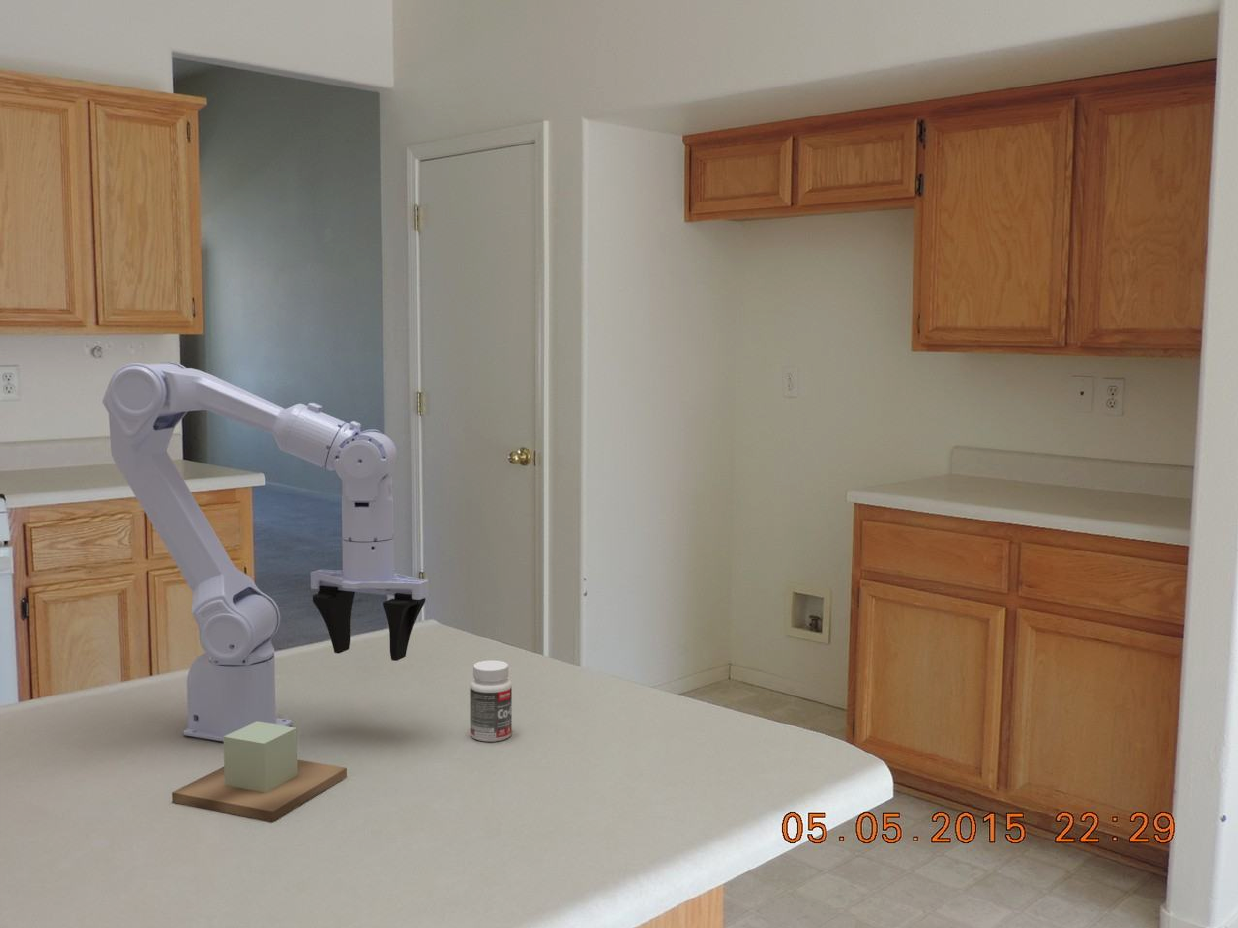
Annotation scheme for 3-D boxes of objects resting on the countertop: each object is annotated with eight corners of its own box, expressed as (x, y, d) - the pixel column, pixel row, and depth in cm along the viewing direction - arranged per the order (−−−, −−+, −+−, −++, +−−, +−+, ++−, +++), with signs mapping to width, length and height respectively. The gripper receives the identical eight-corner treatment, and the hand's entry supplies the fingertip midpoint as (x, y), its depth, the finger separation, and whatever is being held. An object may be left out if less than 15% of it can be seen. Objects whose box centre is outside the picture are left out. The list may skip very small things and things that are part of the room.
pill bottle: (504, 744, 128) (504, 672, 127) (464, 740, 129) (464, 669, 128) (516, 730, 133) (516, 660, 132) (478, 727, 134) (478, 658, 133)
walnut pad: (172, 801, 111) (172, 792, 111) (253, 760, 122) (252, 751, 122) (272, 821, 107) (272, 811, 107) (346, 776, 118) (346, 767, 118)
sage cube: (224, 784, 113) (223, 736, 113) (258, 767, 118) (256, 721, 117) (265, 792, 111) (264, 743, 111) (297, 774, 116) (296, 727, 115)
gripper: (293, 539, 127) (295, 656, 129) (404, 548, 122) (405, 671, 124) (330, 529, 134) (332, 641, 135) (437, 538, 129) (438, 654, 130)
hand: (369, 654), depth 130 cm, fingers open, 7 cm apart
